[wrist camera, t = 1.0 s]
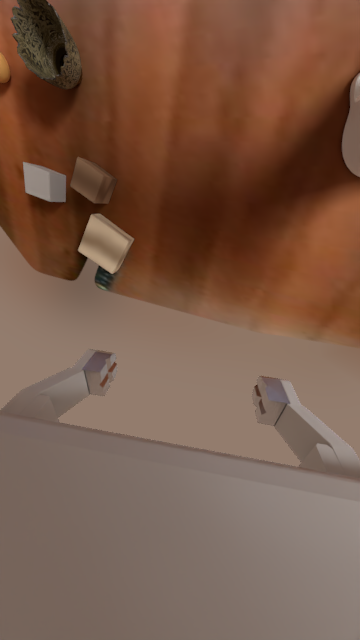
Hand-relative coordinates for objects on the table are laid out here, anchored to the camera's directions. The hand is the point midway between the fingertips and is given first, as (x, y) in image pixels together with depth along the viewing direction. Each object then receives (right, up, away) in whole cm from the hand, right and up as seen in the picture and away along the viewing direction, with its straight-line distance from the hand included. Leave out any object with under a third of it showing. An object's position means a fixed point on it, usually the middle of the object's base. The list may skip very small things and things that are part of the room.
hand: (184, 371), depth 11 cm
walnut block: (-16, +31, +29) cm, 46 cm away
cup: (-18, +45, +22) cm, 53 cm away
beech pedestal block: (-17, +21, +36) cm, 45 cm away
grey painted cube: (-27, +32, +31) cm, 52 cm away
